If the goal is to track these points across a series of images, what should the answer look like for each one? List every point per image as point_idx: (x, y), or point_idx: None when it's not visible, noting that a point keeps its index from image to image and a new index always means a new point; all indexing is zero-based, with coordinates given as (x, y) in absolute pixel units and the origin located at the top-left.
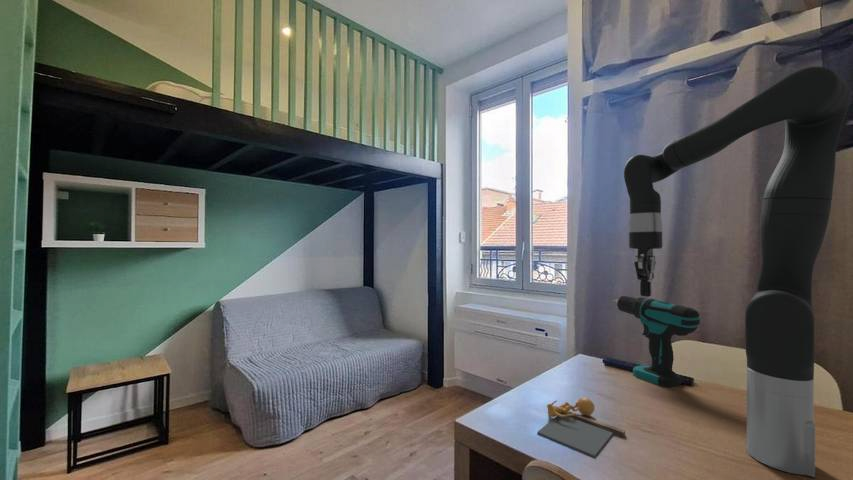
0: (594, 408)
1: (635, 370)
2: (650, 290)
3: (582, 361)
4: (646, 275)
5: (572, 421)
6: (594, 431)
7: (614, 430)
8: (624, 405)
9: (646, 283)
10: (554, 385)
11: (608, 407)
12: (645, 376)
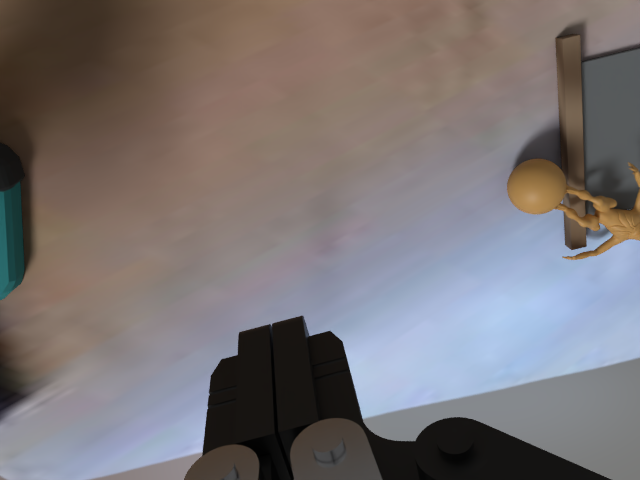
0: (528, 162)
1: (10, 286)
2: (277, 356)
3: (80, 456)
4: (572, 475)
5: (606, 169)
6: (616, 98)
7: (579, 62)
8: (343, 150)
9: (366, 430)
10: (395, 357)
11: (407, 171)
12: (16, 238)
